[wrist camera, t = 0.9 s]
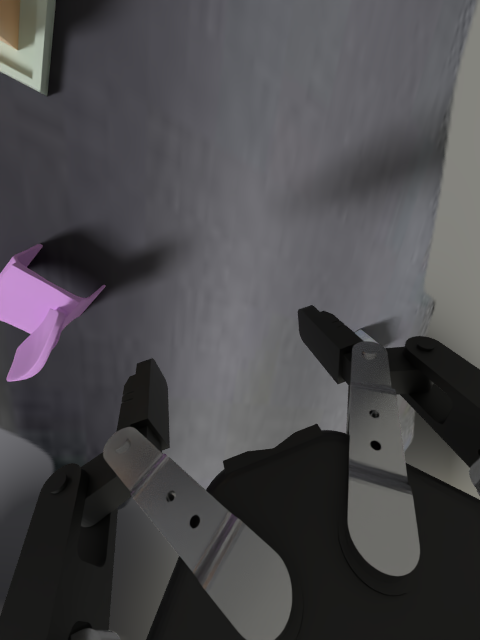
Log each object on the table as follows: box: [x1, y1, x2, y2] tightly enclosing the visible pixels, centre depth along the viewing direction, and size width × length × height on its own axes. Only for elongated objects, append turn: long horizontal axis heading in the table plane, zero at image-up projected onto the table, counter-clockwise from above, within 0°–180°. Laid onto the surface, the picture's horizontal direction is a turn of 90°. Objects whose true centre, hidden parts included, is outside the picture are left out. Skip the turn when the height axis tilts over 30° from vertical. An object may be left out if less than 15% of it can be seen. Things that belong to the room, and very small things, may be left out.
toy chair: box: [0, 244, 106, 381], centre depth 25 cm, size 8×9×15 cm
